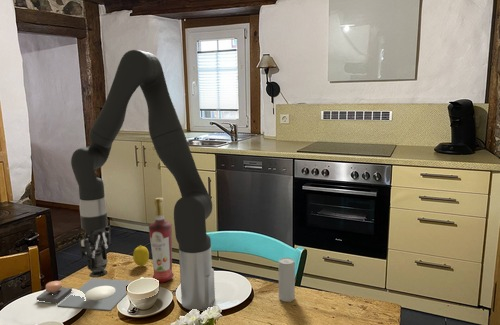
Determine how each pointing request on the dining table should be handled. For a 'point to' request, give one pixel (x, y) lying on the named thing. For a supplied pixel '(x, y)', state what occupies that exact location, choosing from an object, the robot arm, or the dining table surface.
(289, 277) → the beverage can
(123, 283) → the slate board
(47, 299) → the button housing
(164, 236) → the liquor
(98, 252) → the chess piece
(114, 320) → the dining table surface
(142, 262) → the lemon
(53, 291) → the button
